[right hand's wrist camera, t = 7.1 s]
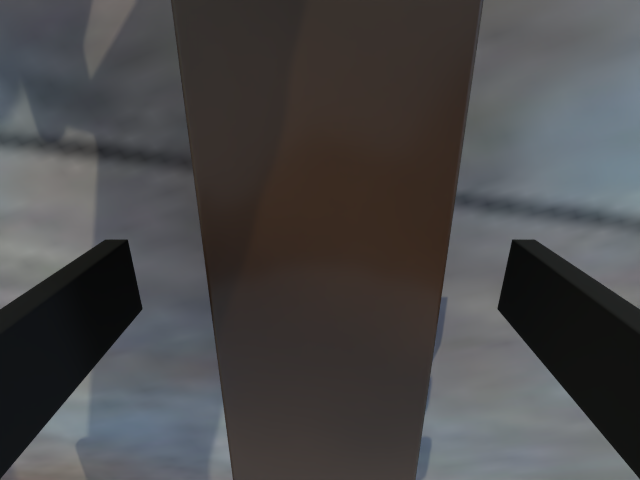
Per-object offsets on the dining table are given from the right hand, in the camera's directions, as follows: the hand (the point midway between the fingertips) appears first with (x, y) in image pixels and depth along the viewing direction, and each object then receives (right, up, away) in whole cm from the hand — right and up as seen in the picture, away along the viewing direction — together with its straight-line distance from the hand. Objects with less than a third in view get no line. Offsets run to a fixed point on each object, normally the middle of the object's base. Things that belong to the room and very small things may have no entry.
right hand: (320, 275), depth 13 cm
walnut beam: (0, +11, -1) cm, 11 cm away
